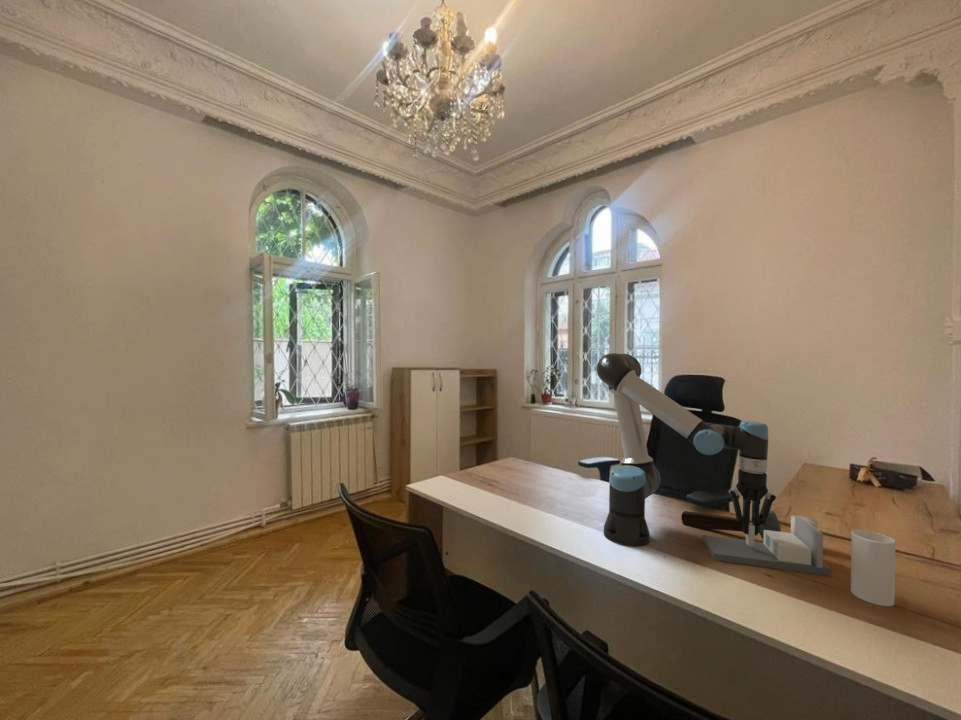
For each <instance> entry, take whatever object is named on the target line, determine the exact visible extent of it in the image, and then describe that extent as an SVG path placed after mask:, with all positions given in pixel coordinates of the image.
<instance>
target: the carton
mask: <svg viewBox="0 0 961 720" xmlns="http://www.w3.org/2000/svg"><path fill="white" fill-rule="evenodd" d="M762 541H763V544H764V545H765V546H766V547H767V548H768V549H769V550H770V551H771V552H772V553H773V554H774V556H775V557H776V558H777V559H778V560H779V561H785V562H792V563H799V564H807V565H811V549H810V548H809V547H808V546H806V545H805V544H804V543H803V542H802V541H801V540H800V539H798V538H797V537H796V536H795V535H794V534H793V533H791V532H787V531H786V532H785V531H781V532H778V531H770V530H764V539H762Z"/></svg>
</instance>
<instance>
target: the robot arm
mask: <svg viewBox="0 0 961 720" xmlns="http://www.w3.org/2000/svg"><path fill="white" fill-rule="evenodd" d="M596 373H597V375H598V377H599V379H600V380H601V381H602V382H603V383H604V384H605V385H607V387H608V391H609V392H610V393H612V394H613V397H614V402H615V409H616V415H617V421H618V427H619V434H620V440H621V447H622V453H623V457H622V458H621V460H620V465H618V466H615V467H613V468H612V469H611V470H610V471H609V479H608V481H609V483H608V484H609V485H608V486H609V493H608V494H609V500H608V501H609V502H608V505H609V509H608V514H607V516H606V520H605V523H604V524H603V537H604V536H605V538H606V539H607V540H609V541H612V542H613V543H616V544H619V545H622V546H628V547H630V546H631V547H641V546H643V547H644V546H646V545H647V544H649V543H650V542H651V541H650V540H651V537H650V536H651V534H650V530H649V527H648V524H647V519H646V515H645V514H646V512H645V511H646V499H647V498H648V497H650V496H651V495H653V494H655V493H656V491H657V490H658V489H659V487H660V484H661V476H660V471H658V469H657V468H656V466H655V463H654V462H655V461H654V458H652V457H651V456H650V455H649V451H648V447H647V441H646V435H645V429H644V423H643V418H642V412H641V411H642V410H641V407H642V408H643V409H645V410H646V411H648V412H649V413H650V414H652V415H653V416H654V417H656V418H658V419H659V420H660V421H661V422H663V423H664V424H666V425H667V426H668V427H670V428H671V429H673V430H674V431H675V432H677V433H678V434H679V435H681V436H682V437H684V439H687V440H688V441H689V442H691V444H693V446H694V448H695V449H696V451H697V452H699V453H700V454H702V455H706V456H713V455H715V454H716V455H717V454H718V453H720V452H721V451H722V450H723V449H730V450H735V451H736V450H738V471H737V472H738V473H737V475H738V476H737V483H736V486H735V487H734V488H728V489H727V492H728V493H729V494H730V496H731V500H732V504H733V508H734V509H733V510H734V512H735V518H737V519H738V520H739V521H740V522H743V533H744V534H745V540H746V543H747V544H748V546H754V541H755V536H758V535H759V533H758V527H759V526H760V524H763V525H764V524H765V523H766V520H767V517H768V514H769V511H771V508H772V504H773V502H775V500H776V499H777V496H776V495H775V494H773V493H771V492H769V489H768V487H767V480H768V479H767V478H768V475H767V471H768V455H769V427H768V425H767V424H766V423H764V422H760V421H754V420H753V421H752V420H742V421H740V423H739V425H737V426H734V425H726V424H717V423H713V422H705V421H703V419H701V418H700V417H698V416H697V415H695V414H693V413H692V412H691V411H689V410H688V409H686V408H685V407H684V406H682V405H681V404H679V403H677V402H676V401H675V400H673V399H671V398H670V397H669V396H668V395H666V394H665V393H663V392H661V390H659V389H656V387H654V386H653V385H652V384H650V383H648V382H647V381H645V380H644V379H643V378H641V375H642V366H641V363H640V362H639V360H638V359H637V358H636V357H635V356H633V355H631V354H629V353H615V352H612V353H607V354H605V355H603V356H602V357H601V358H599V360H598V363H597V364H596ZM739 494H740V495H741V497H742V508H741V504H740V500H739V497H738V495H739ZM763 498H764V500H763V503H762V506H761V509H760V505H761V501H762V499H763ZM750 518H751V519H750ZM750 521H752V523H750Z"/></svg>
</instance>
